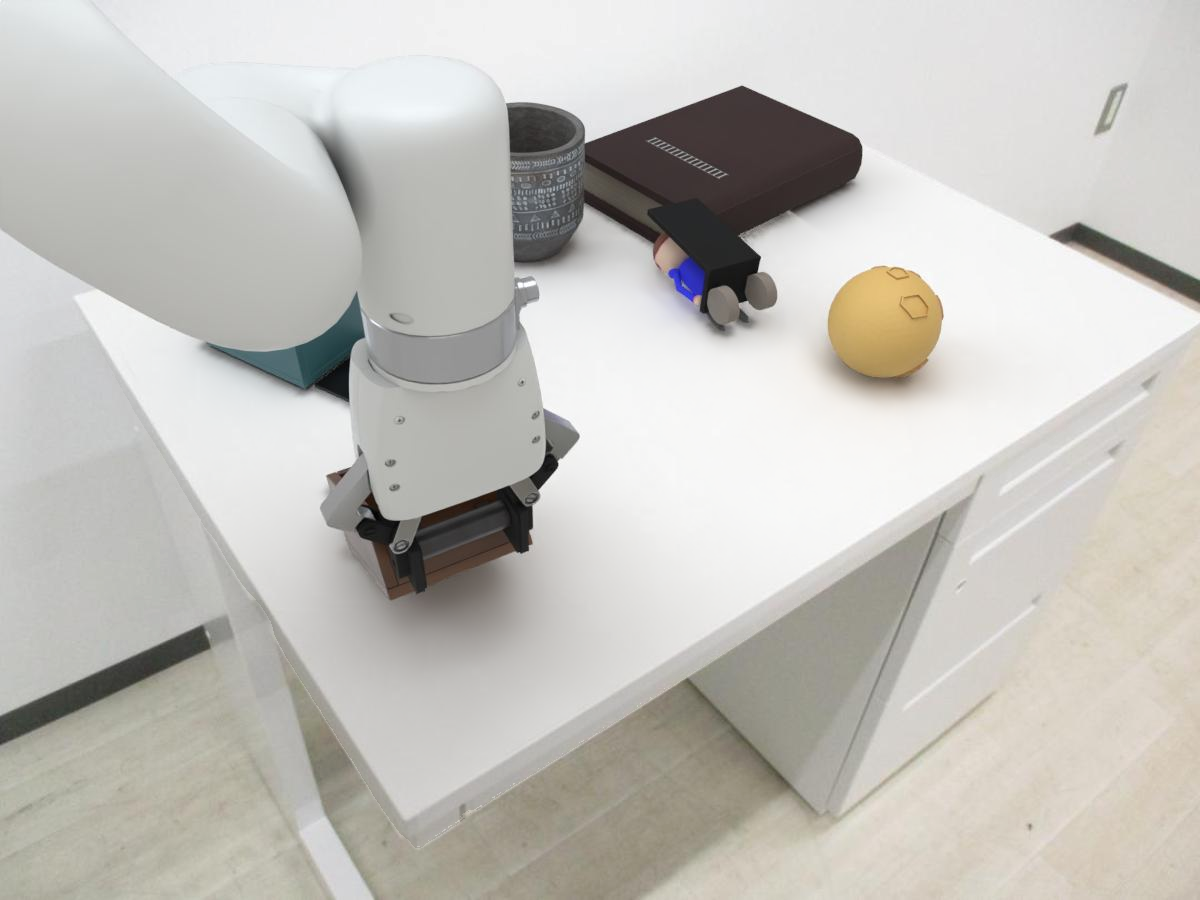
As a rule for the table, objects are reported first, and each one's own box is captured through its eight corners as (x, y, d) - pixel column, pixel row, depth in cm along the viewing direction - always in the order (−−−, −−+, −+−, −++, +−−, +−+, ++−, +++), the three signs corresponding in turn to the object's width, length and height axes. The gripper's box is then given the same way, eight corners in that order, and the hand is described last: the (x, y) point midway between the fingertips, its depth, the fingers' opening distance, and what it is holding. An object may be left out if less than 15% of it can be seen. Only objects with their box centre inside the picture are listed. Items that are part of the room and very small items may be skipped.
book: (693, 266, 100) (699, 216, 96) (573, 195, 110) (573, 147, 106) (855, 186, 114) (867, 140, 110) (736, 130, 124) (742, 85, 120)
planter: (528, 285, 96) (525, 168, 87) (446, 242, 102) (436, 127, 93) (606, 240, 103) (610, 127, 94) (525, 201, 109) (522, 91, 100)
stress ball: (875, 413, 83) (904, 320, 76) (796, 356, 89) (816, 265, 82) (948, 374, 88) (981, 283, 81) (868, 322, 93) (893, 232, 87)
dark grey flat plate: (315, 386, 84) (314, 384, 83) (374, 340, 89) (374, 338, 88) (367, 410, 81) (367, 408, 81) (425, 362, 87) (425, 359, 86)
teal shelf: (181, 332, 88) (164, 279, 84) (260, 282, 94) (247, 231, 90) (304, 389, 83) (292, 335, 79) (379, 332, 89) (371, 279, 85)
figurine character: (771, 337, 93) (687, 249, 101) (789, 277, 88) (699, 188, 95) (715, 357, 91) (634, 265, 99) (730, 297, 85) (643, 204, 93)
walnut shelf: (552, 558, 60) (532, 474, 58) (404, 619, 56) (376, 531, 55) (473, 501, 73) (454, 431, 72) (348, 547, 70) (325, 475, 68)
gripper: (560, 246, 53) (560, 475, 65) (246, 328, 46) (311, 564, 59) (628, 317, 48) (613, 549, 60) (288, 419, 42) (349, 655, 54)
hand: (464, 555), depth 59 cm, fingers closed on walnut shelf, 6 cm apart
